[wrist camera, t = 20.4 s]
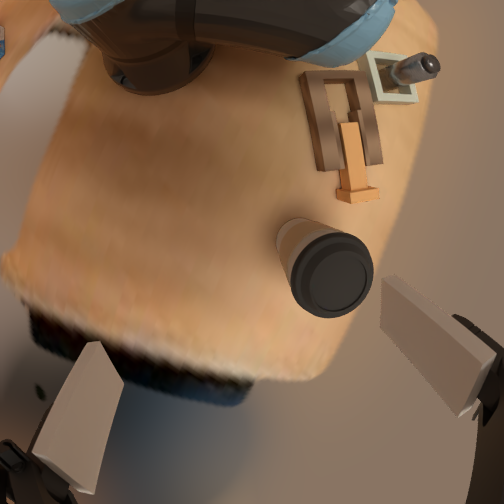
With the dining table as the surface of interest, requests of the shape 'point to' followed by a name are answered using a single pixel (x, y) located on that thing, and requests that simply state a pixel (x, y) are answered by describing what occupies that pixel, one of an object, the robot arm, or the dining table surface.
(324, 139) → the socket block
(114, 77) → the robot arm
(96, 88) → the dining table surface
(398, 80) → the dark grey cylinder
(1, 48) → the ink box
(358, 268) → the coffee cup
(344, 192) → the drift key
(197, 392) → the dining table surface
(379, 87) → the square frame
